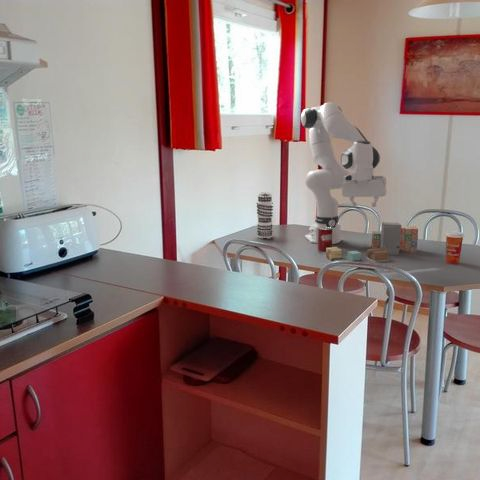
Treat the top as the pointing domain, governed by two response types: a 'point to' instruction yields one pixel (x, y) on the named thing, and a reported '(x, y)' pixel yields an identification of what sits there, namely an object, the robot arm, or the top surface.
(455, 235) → the paper cup
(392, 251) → the skincare box
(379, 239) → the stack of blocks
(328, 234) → the soda can
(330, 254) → the oak cube
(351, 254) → the teal cube
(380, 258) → the walnut block
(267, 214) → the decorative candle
